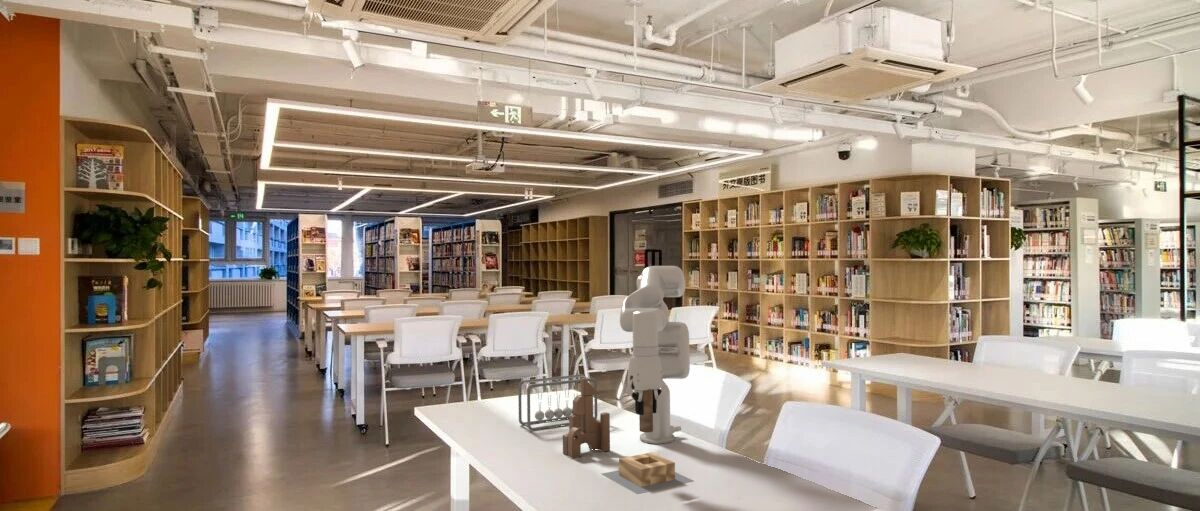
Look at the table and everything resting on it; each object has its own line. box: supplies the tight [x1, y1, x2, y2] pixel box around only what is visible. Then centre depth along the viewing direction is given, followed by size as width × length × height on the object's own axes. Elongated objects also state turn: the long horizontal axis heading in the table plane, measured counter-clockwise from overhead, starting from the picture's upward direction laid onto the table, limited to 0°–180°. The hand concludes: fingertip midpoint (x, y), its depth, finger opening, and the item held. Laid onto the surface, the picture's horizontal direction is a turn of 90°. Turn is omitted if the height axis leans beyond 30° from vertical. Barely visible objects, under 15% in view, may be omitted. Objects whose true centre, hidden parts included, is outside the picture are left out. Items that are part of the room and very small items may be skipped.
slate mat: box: [601, 469, 694, 495], centre depth 199 cm, size 20×20×1 cm
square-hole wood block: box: [618, 452, 676, 487], centre depth 199 cm, size 12×12×5 cm
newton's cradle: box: [517, 373, 598, 431], centre depth 265 cm, size 30×10×18 cm, turn 118°
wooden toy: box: [562, 377, 611, 458], centre depth 226 cm, size 16×7×25 cm, turn 120°
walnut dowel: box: [638, 389, 653, 433], centre depth 198 cm, size 4×4×16 cm
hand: (646, 412), depth 198 cm, fingers closed on walnut dowel, 4 cm apart
